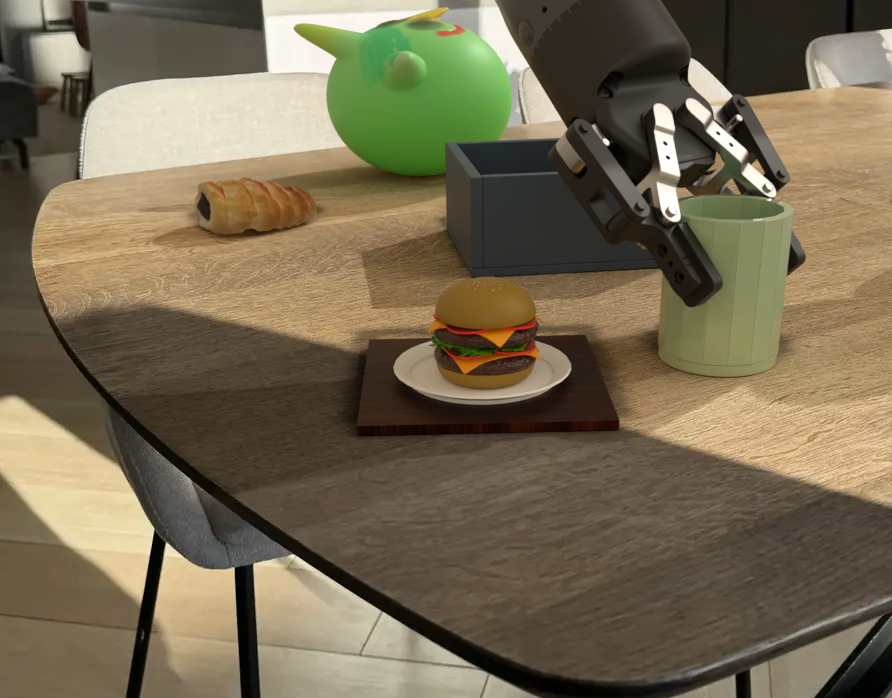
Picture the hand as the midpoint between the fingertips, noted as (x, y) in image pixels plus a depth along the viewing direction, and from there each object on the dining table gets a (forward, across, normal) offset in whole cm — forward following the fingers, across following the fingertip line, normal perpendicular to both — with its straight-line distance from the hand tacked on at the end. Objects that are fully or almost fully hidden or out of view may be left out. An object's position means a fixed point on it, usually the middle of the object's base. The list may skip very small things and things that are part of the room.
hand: (750, 283), depth 57 cm
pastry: (-29, -3, +35) cm, 46 cm away
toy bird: (-34, +20, +40) cm, 56 cm away
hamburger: (-2, -12, +8) cm, 15 cm away
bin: (-14, +10, +20) cm, 26 cm away
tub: (+2, 0, +4) cm, 5 cm away
